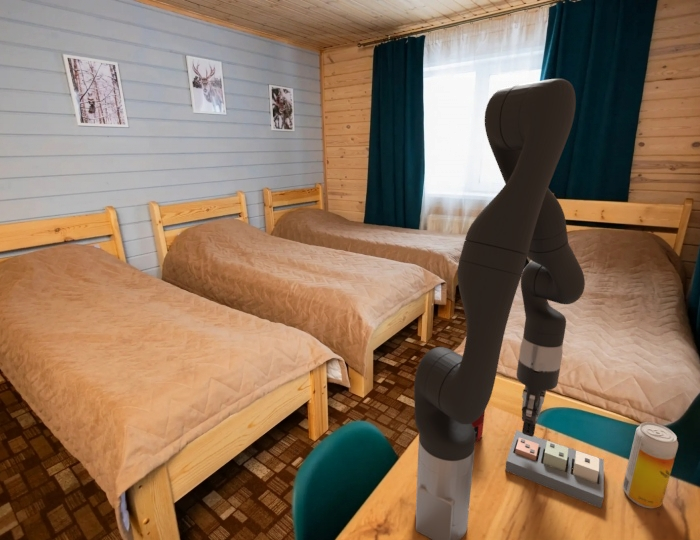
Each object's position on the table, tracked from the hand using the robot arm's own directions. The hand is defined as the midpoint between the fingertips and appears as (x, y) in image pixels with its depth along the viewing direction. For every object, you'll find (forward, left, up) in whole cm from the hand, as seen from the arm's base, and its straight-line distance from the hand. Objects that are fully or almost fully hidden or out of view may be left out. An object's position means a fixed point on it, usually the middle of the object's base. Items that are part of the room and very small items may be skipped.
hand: (528, 433), depth 80 cm
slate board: (0, -6, -7) cm, 9 cm away
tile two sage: (0, -6, -5) cm, 7 cm away
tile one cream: (0, -11, -5) cm, 12 cm away
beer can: (+2, -21, -7) cm, 22 cm away
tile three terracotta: (0, 0, -6) cm, 6 cm away
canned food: (+2, +13, -7) cm, 15 cm away
